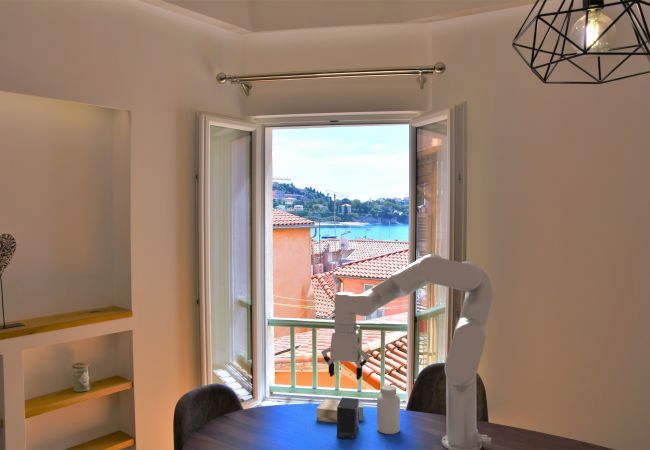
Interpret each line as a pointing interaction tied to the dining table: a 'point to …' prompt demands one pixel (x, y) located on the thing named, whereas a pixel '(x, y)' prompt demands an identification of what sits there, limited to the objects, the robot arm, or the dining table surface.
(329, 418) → the beech plinth
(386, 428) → the pill bottle
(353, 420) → the small box
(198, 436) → the dining table surface
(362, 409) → the slate cube
